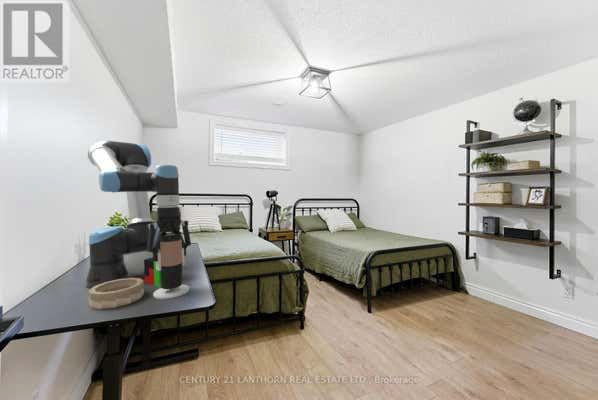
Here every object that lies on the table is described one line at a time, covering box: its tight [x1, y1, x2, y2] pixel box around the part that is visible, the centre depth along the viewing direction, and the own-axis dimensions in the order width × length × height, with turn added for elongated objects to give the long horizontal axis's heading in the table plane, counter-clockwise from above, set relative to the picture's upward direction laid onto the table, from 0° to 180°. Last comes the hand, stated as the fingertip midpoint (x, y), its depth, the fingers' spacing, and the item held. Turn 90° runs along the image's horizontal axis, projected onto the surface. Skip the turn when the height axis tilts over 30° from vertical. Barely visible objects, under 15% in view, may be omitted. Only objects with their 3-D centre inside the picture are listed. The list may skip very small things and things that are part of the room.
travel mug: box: [158, 231, 183, 289], centre depth 94 cm, size 8×8×20 cm
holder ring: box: [88, 277, 145, 310], centre depth 90 cm, size 15×15×5 cm
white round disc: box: [152, 284, 190, 300], centre depth 95 cm, size 12×12×1 cm
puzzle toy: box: [143, 257, 161, 287], centre depth 108 cm, size 10×10×10 cm
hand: (170, 267), depth 95 cm, fingers closed on travel mug, 8 cm apart
